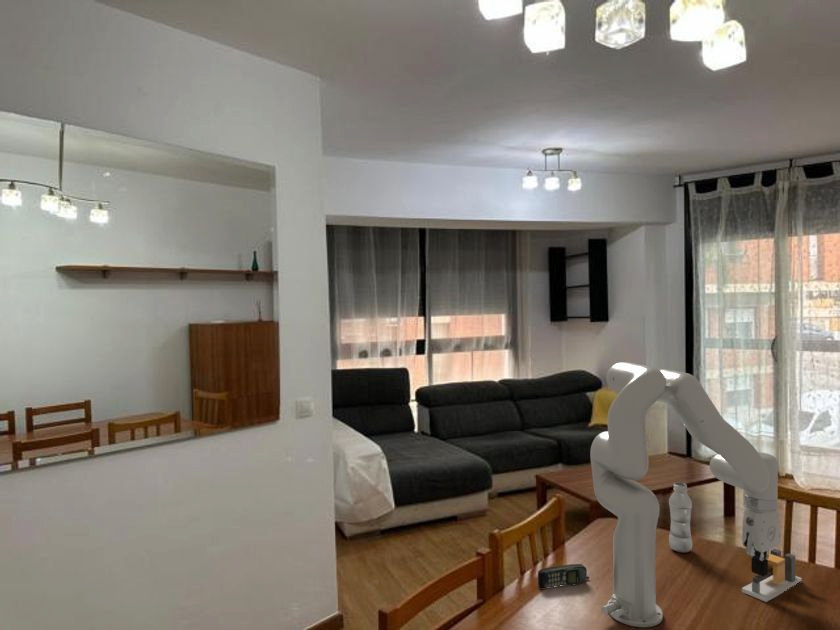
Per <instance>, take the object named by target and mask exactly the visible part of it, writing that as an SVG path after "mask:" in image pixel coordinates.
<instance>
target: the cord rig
mask: <svg viewBox="0 0 840 630" xmlns="http://www.w3.org/2000/svg"><path fill="white" fill-rule="evenodd" d="M770 554H772V555H775V556H778V557H781V558H782V550H780V549H777V548H772V549H770ZM784 559H785V580H784V581H782V582H780V583H778V584H775V583H773V568H771V569H769V570H768V574H767V575H765V576H761V575H758V574H757V575H756V576H754V577H752V581H751V583H749V584H747V585H744V586H743V587H741V593H743V594H746V595H748V596H751V597H753V598H756V599H758V600H760V601H762V602H765V603H768V602H769V601H770V600H772V599H774V598H776V597H778V596H779V595H781V594H783V593H785V592H786V591H788V590H790V589H791V588H790V587H792V586H793V587H795V586H796V584H797V583H799V582H800V581H802V577H800V576H797V575H796V555H795V554H792V553H786V554H785V555H784ZM766 578H767V579H766ZM800 583H801V582H800ZM800 583H799V584H800ZM794 585H795V586H794ZM797 585H798V584H797ZM793 587H792V588H793ZM789 588H790V589H789ZM787 589H788V590H787ZM784 591H785V592H784Z"/></svg>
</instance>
